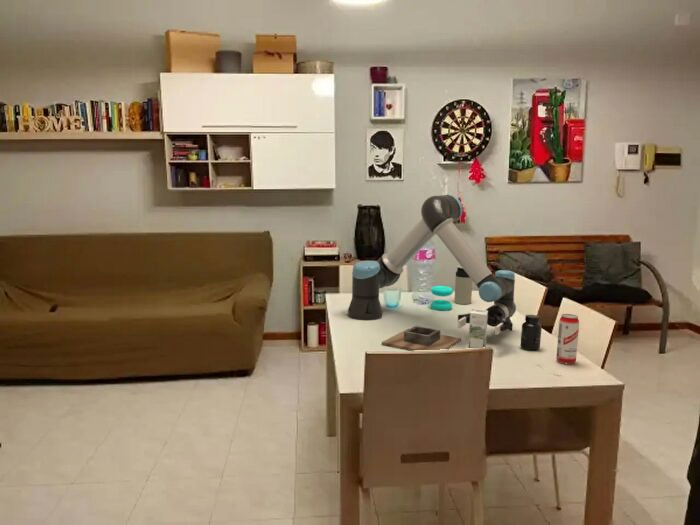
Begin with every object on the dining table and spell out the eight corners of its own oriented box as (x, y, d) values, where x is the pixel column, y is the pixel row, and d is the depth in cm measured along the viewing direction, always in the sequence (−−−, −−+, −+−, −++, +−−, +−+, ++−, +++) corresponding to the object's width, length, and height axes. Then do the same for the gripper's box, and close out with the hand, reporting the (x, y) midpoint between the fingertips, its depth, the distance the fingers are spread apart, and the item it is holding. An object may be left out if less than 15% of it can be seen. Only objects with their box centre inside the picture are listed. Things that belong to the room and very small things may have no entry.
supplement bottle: (541, 351, 198) (543, 319, 196) (521, 350, 200) (523, 317, 198) (538, 346, 205) (541, 314, 203) (519, 344, 206) (521, 313, 204)
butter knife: (557, 376, 174) (564, 375, 175) (508, 353, 196) (515, 352, 197) (557, 378, 174) (564, 376, 175) (508, 354, 196) (514, 353, 197)
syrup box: (485, 349, 200) (488, 309, 198) (484, 354, 195) (486, 313, 192) (469, 347, 202) (471, 308, 200) (467, 352, 196) (469, 312, 194)
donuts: (457, 288, 256) (442, 290, 250) (456, 309, 258) (441, 312, 252) (441, 284, 264) (426, 286, 258) (440, 305, 265) (425, 307, 259)
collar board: (381, 344, 203) (381, 332, 202) (408, 330, 221) (408, 319, 221) (437, 356, 191) (438, 343, 191) (461, 340, 210) (461, 329, 209)
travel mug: (468, 305, 265) (470, 268, 262) (452, 303, 269) (454, 266, 266) (472, 302, 272) (474, 265, 270) (456, 300, 276) (458, 264, 273)
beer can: (552, 358, 191) (556, 313, 188) (570, 358, 192) (574, 313, 189) (561, 365, 185) (565, 318, 182) (579, 364, 185) (583, 318, 183)
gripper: (528, 329, 207) (512, 344, 189) (464, 319, 220) (443, 332, 202) (529, 310, 206) (513, 322, 188) (465, 300, 219) (444, 311, 201)
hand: (477, 327), depth 195 cm, fingers open, 13 cm apart
